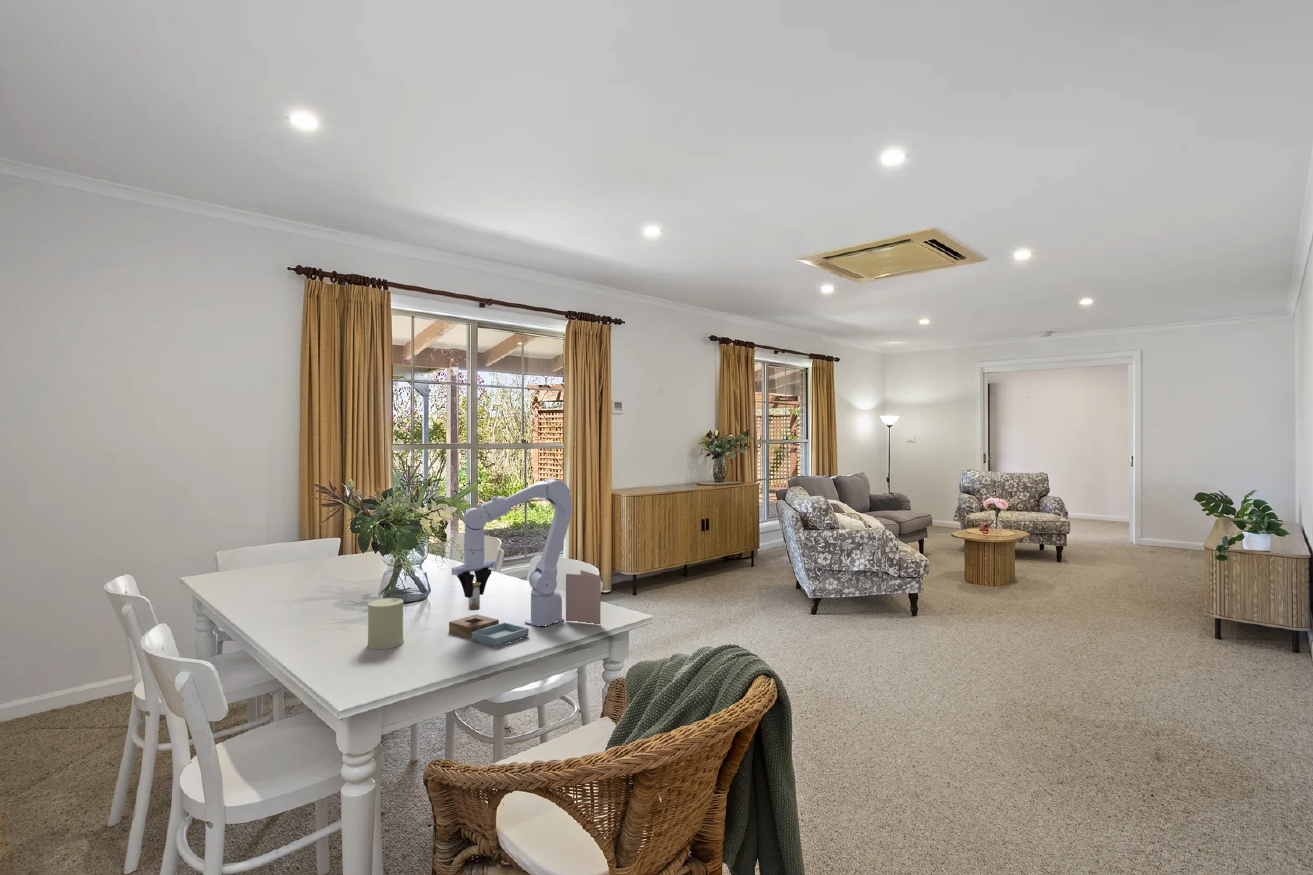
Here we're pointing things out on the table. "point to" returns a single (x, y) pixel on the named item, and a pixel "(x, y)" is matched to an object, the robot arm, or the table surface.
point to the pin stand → (471, 625)
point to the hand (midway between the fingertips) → (474, 595)
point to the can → (385, 623)
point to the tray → (499, 634)
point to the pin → (475, 596)
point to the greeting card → (583, 597)
